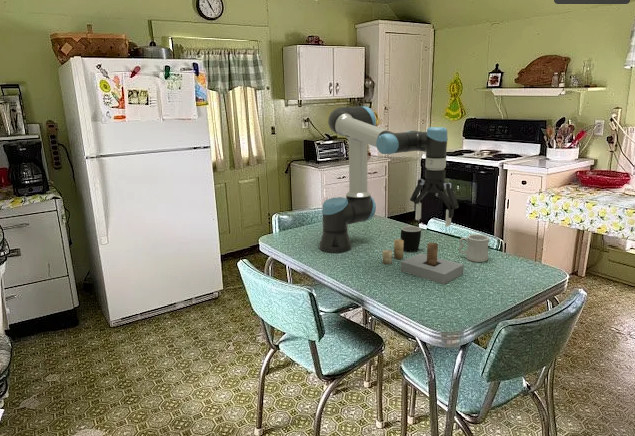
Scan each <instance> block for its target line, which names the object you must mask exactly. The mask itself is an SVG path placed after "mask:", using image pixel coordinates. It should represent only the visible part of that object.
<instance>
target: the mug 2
mask: <svg viewBox="0 0 635 436" xmlns="http://www.w3.org/2000/svg"><path fill="white" fill-rule="evenodd" d="M466 237H467V238H466ZM466 237H461V238H460V239H459V240H458V241H459V244H460V245H461V246H459V247H458V251H459V253H460V254H462V255H464V254H465V258H466V259H467V260H468V261H470V262H475V263H485V262H487V261H488V260H489V243H490V237H489V236H488V235H485V234H480V233H479V234H477V233H475V234H474V233H473V234H469V235H467V236H466ZM463 240H464V241H465V242H467V246H466V247H467V248H466V250H464V251H463V250H462V249H463V248H464V247H465V245H464V243H463V242H462V241H463Z"/></svg>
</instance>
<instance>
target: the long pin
mask: <svg viewBox="0 0 635 436" xmlns="http://www.w3.org/2000/svg"><path fill="white" fill-rule="evenodd" d="M426 244H427V247H426V249H427V250H426V255H427V265H430V266H433V267H435V266H437V258H438V251H439V250H438V248H439V244H438V243H436V242H428V243H426Z"/></svg>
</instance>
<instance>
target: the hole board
mask: <svg viewBox="0 0 635 436" xmlns="http://www.w3.org/2000/svg"><path fill="white" fill-rule="evenodd" d="M464 268H465V267H464V264H462V263H459V262H454V261H451V260H448V259H443V258H440V257H437V266H435V267H433V266H430V265H427V254H425V253H422V252H420V253H418V254H415V255H414V256H411V257H409V258H406V259H404V260H402V261H401V262H400V272H404V273H405V274H409V275H413V276H416V277H419V278H422V279H426V280H428V281H431V282H432V281H433V282H435V283H438V284H442V285H445V284H448V283H449V282H451V281H453V280H455V279H457V278H458V277H461V276H463V275H464Z"/></svg>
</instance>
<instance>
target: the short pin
mask: <svg viewBox="0 0 635 436" xmlns="http://www.w3.org/2000/svg"><path fill="white" fill-rule="evenodd" d="M382 264H383V265H391V264H393V250H389V249H385V250H382Z"/></svg>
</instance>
